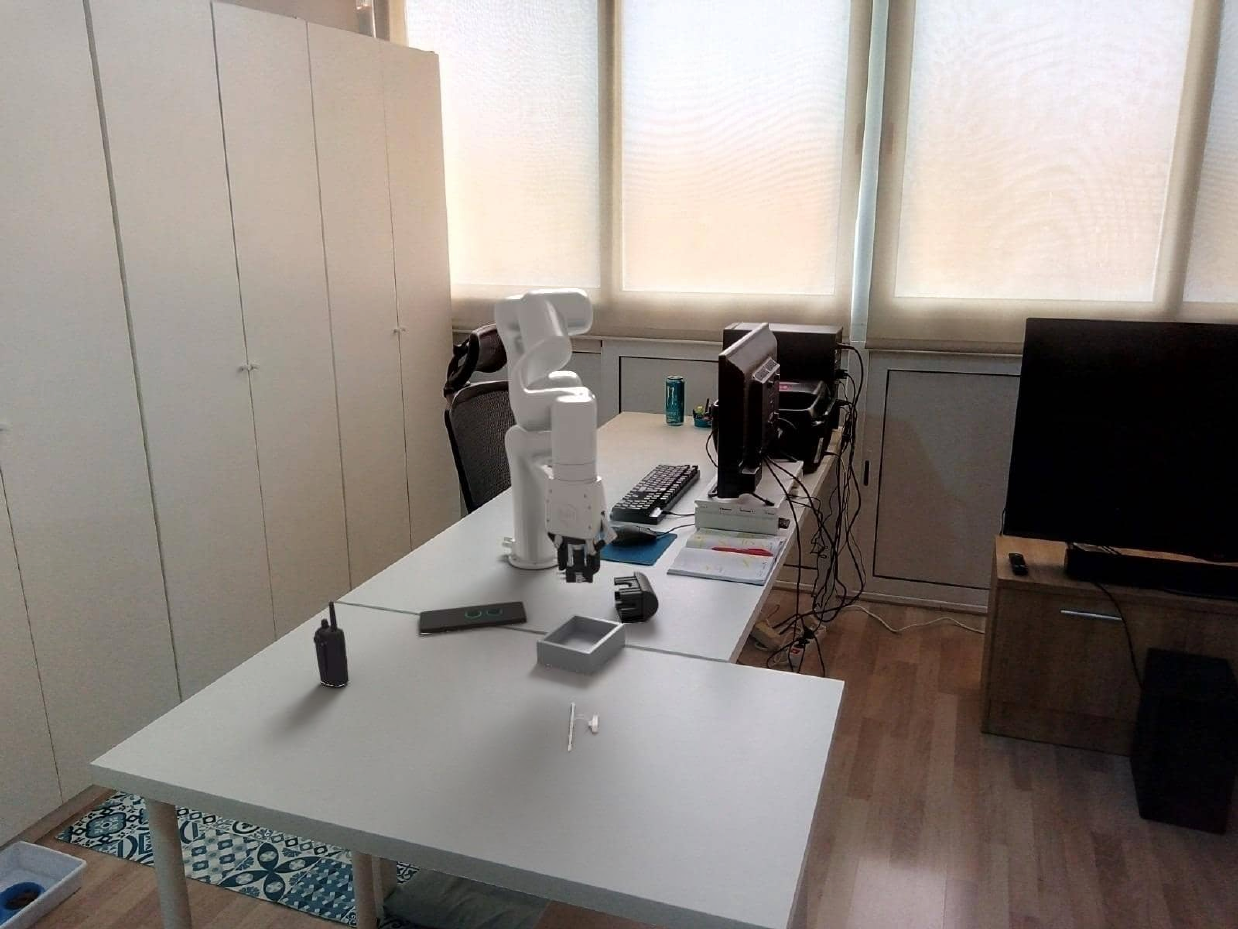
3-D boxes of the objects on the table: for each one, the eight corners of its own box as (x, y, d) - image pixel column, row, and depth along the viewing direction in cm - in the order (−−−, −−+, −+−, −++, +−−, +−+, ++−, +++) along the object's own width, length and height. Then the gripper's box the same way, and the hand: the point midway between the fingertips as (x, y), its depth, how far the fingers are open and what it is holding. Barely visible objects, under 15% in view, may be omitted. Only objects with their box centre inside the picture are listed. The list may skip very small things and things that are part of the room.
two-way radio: (354, 682, 150) (344, 600, 146) (333, 694, 146) (323, 610, 142) (331, 675, 153) (321, 594, 149) (310, 686, 149) (299, 604, 145)
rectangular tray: (537, 662, 155) (536, 641, 154) (574, 632, 166) (574, 613, 165) (590, 675, 150) (589, 654, 149) (625, 644, 161) (624, 624, 160)
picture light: (571, 704, 143) (571, 692, 142) (598, 703, 143) (598, 691, 142) (566, 755, 129) (566, 742, 129) (596, 754, 129) (596, 742, 129)
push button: (555, 587, 152) (553, 532, 150) (557, 575, 157) (555, 521, 155) (594, 586, 152) (592, 531, 150) (595, 574, 157) (593, 520, 155)
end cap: (659, 622, 170) (658, 589, 168) (622, 626, 169) (621, 592, 167) (649, 601, 179) (648, 569, 177) (614, 604, 178) (613, 572, 176)
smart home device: (527, 617, 170) (419, 629, 166) (527, 625, 170) (420, 637, 166) (522, 599, 178) (419, 610, 174) (522, 607, 178) (420, 619, 174)
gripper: (520, 469, 150) (525, 570, 155) (609, 481, 142) (611, 587, 147) (544, 458, 156) (549, 556, 161) (630, 469, 148) (632, 571, 153)
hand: (578, 569), depth 154 cm, fingers closed on push button, 5 cm apart
